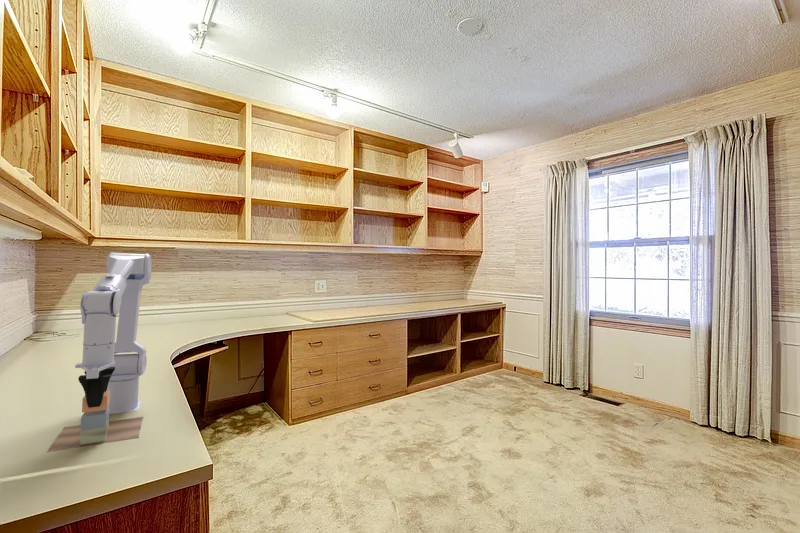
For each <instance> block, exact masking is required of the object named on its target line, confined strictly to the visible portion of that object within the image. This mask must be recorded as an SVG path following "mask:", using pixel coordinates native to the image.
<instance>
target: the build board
mask: <svg viewBox="0 0 800 533" xmlns="http://www.w3.org/2000/svg"><path fill="white" fill-rule="evenodd" d="M143 419H144V416H139V417H131V418H124V419H115V420H109V421H108V423H107V425H106V427H104V428H97V429H90V430H82V431H81V424H79V425H78V424H77V425H71V426H70V425H69V426H64V427H63V428H62V429H61V431H60V432H59V434H58V435H57V437H56V438H55V439H54V440H53V442H52V444H51V445H49V446H50V447H49V448H48V449H47V450H46V453H50V452H56V451H57V452H58V451H62V450H63V451H64V450H69V449H74V448H83V447H89V446H95V445H102V444H108V443H114V442H120V441H127V440H128V441H129V440H133V439H139V438H140V433H141V432H140V431H141V429H142V424H143Z"/></svg>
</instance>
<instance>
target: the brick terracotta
mask: <svg viewBox="0 0 800 533" xmlns="http://www.w3.org/2000/svg"><path fill="white" fill-rule="evenodd" d="M81 403H82V404H81V407H82V408H81V413H84V412H90V411H98V410H106V409H107V408H108V406H109V404H110V391H105V392H104V395H103V399H102V403H101V405H100V406H99V407H90V408H88V405H87V401H86V396H85V395H84V396H83V398H82V402H81Z"/></svg>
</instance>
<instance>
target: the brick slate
mask: <svg viewBox="0 0 800 533" xmlns="http://www.w3.org/2000/svg"><path fill="white" fill-rule="evenodd" d="M109 416H110V414H109V408H107V409H106V410H98V411H90V412H83V414H82V415H81V417H80V425H81V431H82V430H90V429H97V428H104V427H106V425H107V423H108V421H110V420H109V418H110V417H109Z"/></svg>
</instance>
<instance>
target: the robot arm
mask: <svg viewBox="0 0 800 533" xmlns="http://www.w3.org/2000/svg"><path fill="white" fill-rule="evenodd" d="M106 258H107V259H106V263H105V264H106V270H107V273H106V274H105V275H103V276H102V277H100V278H99V279H98V281H97V283H96V284H95V286H94V288H93V289H92V290H89V291H87V292H85V293H83V294H82V296H81V298H80V304H79V305H80V306H79V309H80V313H81V324H83V340H82V341H83V342H82V362H79V363H76V364H74V365H75V366H74V368H75V369H81V370H83V371H84V375H79V376H78V379H77V380H78V382H79V384H80V385H81V386H82V388H83V391H84V392H83V393H84V396H86V401H87V405H88V408H90V407H99V406H100V405H101V403H102V399H103V395H104V392H105V391H110V404H109V406H108V408H109V415H111V414H119V413H126V412H133V411H139V410H140V406H141V400H139V388H140V386H139V384H140V383H139V382H140V376H143V374H145V372H146V369H147V349H146V348H145V347H144V345H141V344H140V343H139V342H137V332H138V323H139V314H140V312H139V311H140V303H141V296H142V295H141V293H142V290H143V287H144V286H145V285H147V284H149V283H150V280H151V277H152V268H153V267H152V265H153V263H152V262H153V261H152V256H151V255H150V253H127V252H126V253H125V252H124V253H123V252H115V251H114V252H110V253H109V254H108V255H107V257H106ZM117 315H118V321H117ZM116 324H117V325H116ZM116 326H117V329H116ZM116 330H117V331H116Z"/></svg>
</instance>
